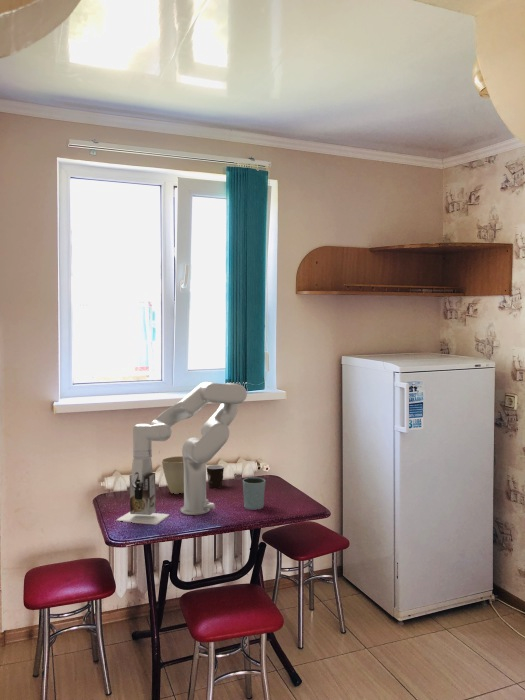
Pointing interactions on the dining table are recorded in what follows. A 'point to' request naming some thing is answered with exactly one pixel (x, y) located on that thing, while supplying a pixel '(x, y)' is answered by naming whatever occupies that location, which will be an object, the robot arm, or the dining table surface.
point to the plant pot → (174, 473)
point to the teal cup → (253, 493)
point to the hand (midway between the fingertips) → (142, 496)
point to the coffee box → (144, 496)
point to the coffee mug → (215, 475)
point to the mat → (143, 518)
